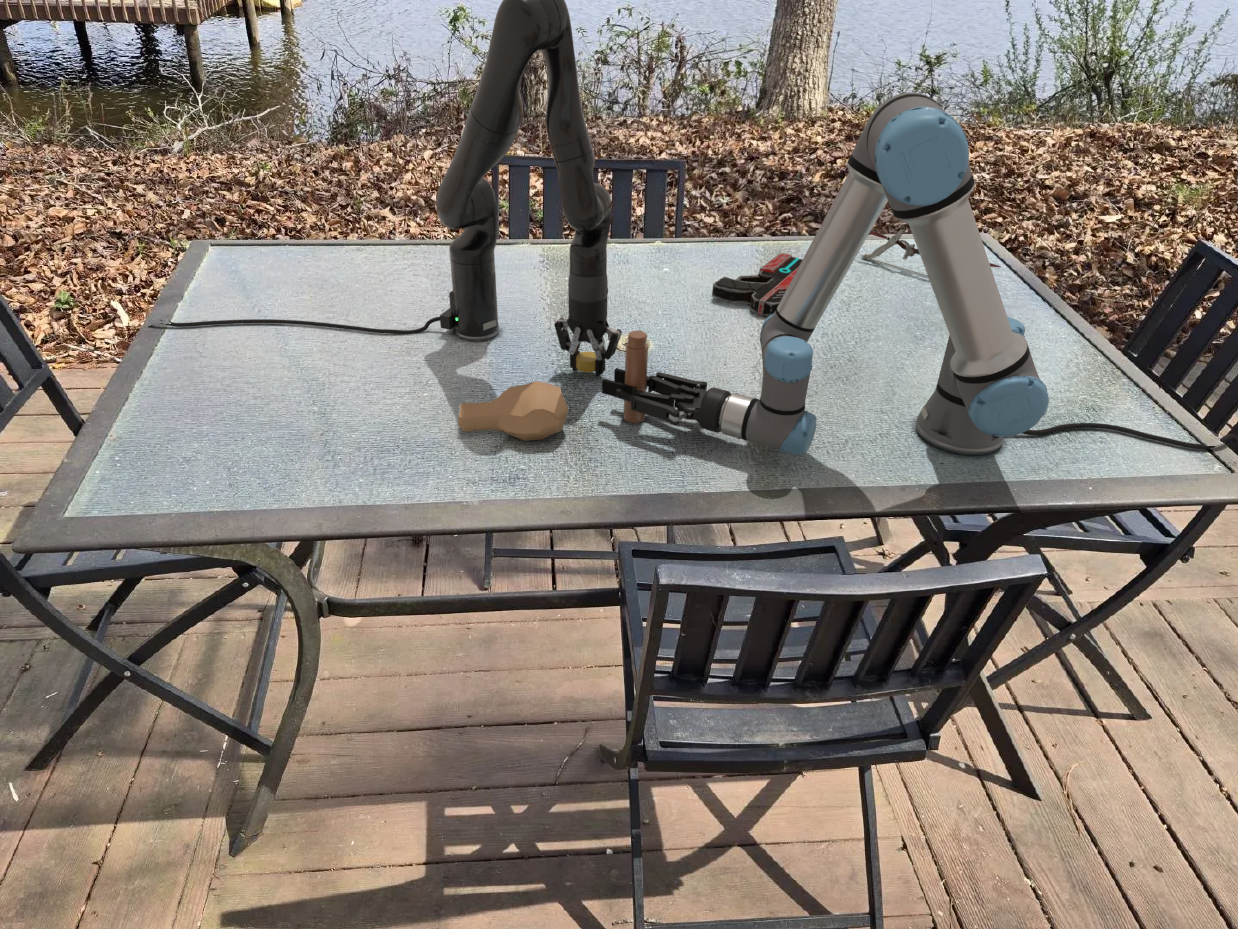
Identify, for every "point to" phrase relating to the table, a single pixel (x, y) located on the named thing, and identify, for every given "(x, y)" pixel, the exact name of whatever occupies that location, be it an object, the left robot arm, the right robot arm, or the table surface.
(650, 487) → the table surface
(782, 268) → the gun
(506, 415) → the squash
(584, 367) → the lid
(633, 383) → the jar
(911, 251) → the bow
